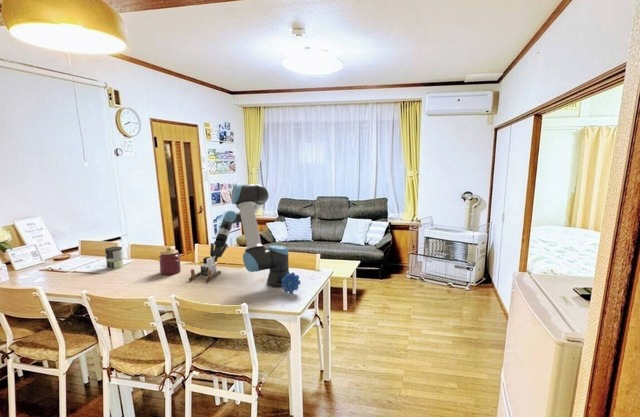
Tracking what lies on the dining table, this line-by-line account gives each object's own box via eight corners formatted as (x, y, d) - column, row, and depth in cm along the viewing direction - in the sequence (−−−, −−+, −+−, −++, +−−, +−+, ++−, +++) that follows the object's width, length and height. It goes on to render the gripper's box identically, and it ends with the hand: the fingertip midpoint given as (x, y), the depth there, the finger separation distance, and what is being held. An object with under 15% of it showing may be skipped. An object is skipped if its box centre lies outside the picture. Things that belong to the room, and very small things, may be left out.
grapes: (303, 290, 191) (302, 270, 190) (299, 295, 185) (298, 274, 183) (284, 288, 194) (283, 269, 193) (279, 293, 188) (279, 272, 186)
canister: (166, 276, 218) (164, 250, 215) (156, 273, 226) (154, 247, 223) (184, 271, 228) (183, 246, 226) (174, 268, 236) (173, 243, 233)
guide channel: (202, 272, 225) (202, 263, 224) (221, 273, 223) (220, 264, 222) (188, 281, 209) (187, 271, 208) (208, 282, 206) (207, 272, 205)
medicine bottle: (200, 276, 218) (199, 258, 217) (209, 272, 225) (208, 255, 223) (208, 277, 215) (207, 259, 214) (216, 274, 221) (215, 256, 220)
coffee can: (105, 270, 232) (103, 250, 230) (108, 266, 241) (106, 247, 240) (122, 268, 236) (121, 249, 235) (124, 264, 246) (122, 245, 244)
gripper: (232, 239, 240) (223, 268, 226) (216, 238, 243) (205, 267, 229) (229, 233, 234) (218, 263, 220) (212, 232, 237) (200, 262, 223)
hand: (212, 265), depth 225 cm, fingers closed
